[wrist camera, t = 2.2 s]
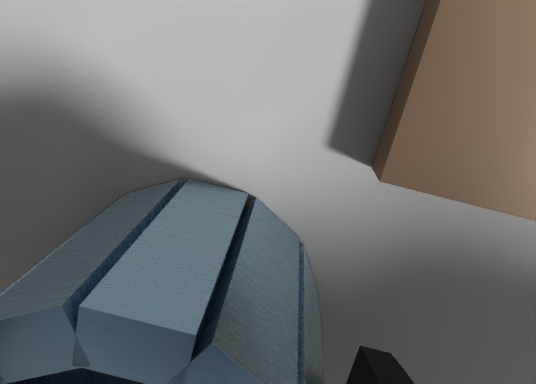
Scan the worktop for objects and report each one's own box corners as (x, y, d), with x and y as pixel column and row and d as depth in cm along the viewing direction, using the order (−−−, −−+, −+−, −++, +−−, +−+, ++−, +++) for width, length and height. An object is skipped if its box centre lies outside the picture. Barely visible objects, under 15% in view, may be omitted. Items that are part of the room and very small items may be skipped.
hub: (345, 218, 10) (389, 383, 5) (281, 417, 11) (268, 681, 7) (91, 154, 10) (-116, 256, 5) (67, 363, 11) (-103, 590, 7)
